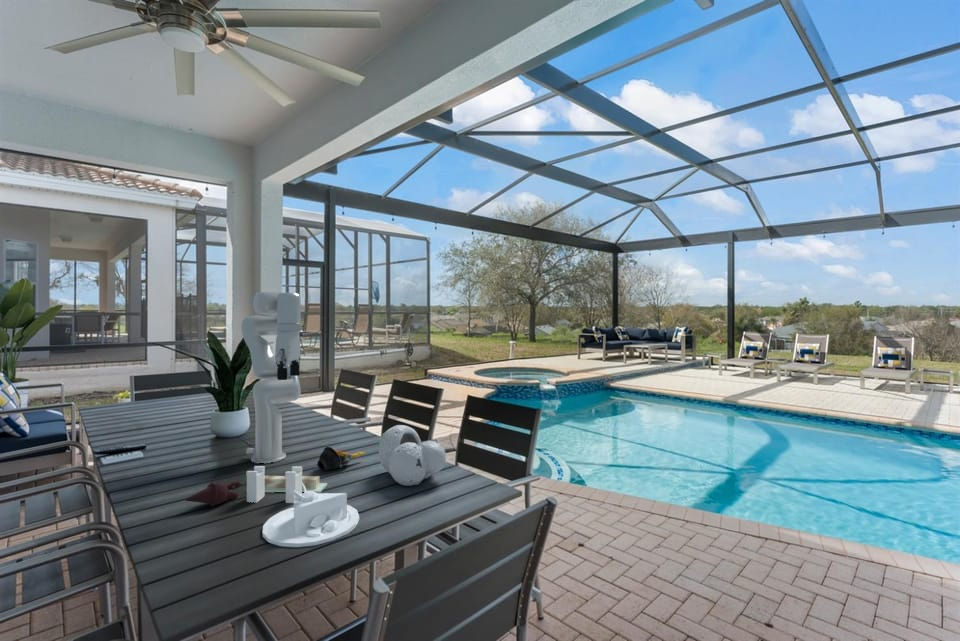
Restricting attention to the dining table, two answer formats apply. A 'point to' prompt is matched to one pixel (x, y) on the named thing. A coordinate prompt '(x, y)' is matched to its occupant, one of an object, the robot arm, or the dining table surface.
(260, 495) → the post
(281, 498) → the dining table surface
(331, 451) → the fried shrimp in bowl
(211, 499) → the icecream
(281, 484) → the rail
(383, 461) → the grey lumpy clump
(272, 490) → the mat
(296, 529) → the dish
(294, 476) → the post
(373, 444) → the dining table surface
